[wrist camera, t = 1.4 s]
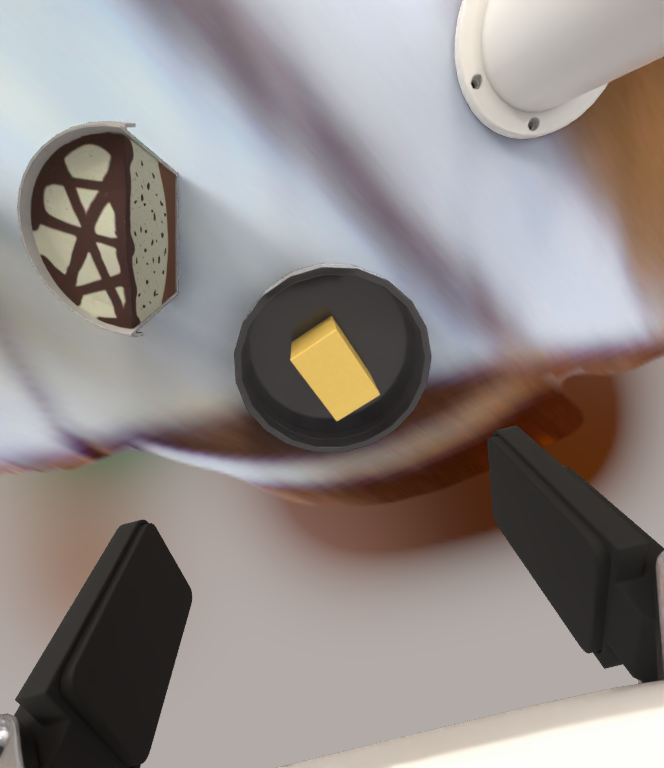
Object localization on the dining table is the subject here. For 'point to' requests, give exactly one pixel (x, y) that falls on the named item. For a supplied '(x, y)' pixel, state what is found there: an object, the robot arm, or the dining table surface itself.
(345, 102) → the dining table surface
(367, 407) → the round cake pan
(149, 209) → the food container
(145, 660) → the robot arm
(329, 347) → the cheese
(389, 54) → the dining table surface
